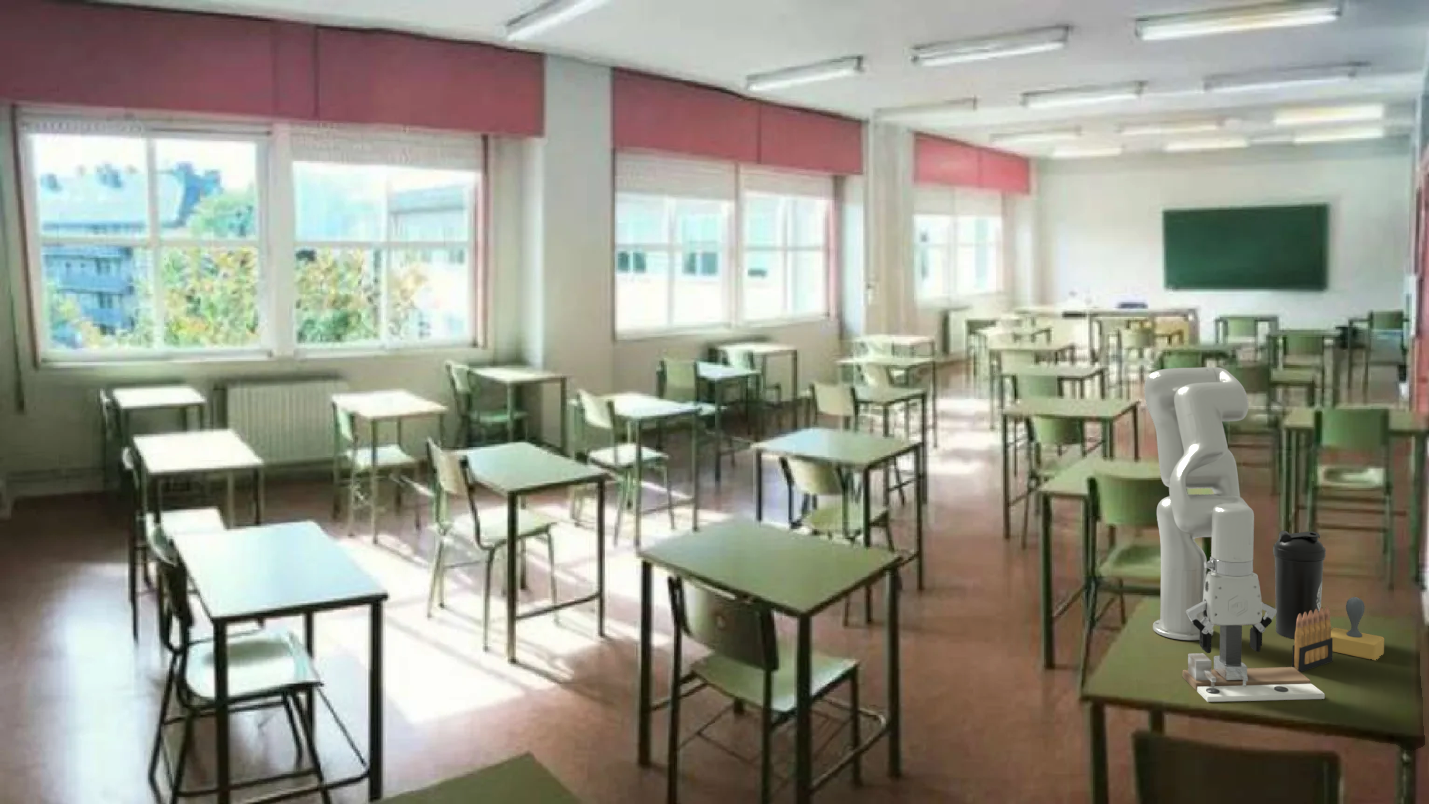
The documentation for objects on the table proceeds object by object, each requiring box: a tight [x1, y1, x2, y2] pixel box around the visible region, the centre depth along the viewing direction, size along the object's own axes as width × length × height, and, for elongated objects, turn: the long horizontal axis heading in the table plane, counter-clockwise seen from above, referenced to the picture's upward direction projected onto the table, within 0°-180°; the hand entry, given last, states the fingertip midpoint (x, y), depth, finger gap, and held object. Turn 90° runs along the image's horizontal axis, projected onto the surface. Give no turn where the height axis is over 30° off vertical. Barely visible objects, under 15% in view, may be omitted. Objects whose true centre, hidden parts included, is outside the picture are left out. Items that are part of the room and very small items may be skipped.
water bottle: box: [1272, 530, 1327, 640], centre depth 243 cm, size 10×10×23 cm
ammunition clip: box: [1291, 605, 1334, 673], centre depth 225 cm, size 11×2×12 cm, turn 117°
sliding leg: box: [1213, 625, 1248, 687], centre depth 216 cm, size 10×4×11 cm, turn 178°
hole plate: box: [1196, 683, 1326, 703], centre depth 212 cm, size 5×22×1 cm, turn 88°
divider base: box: [1182, 652, 1311, 692], centre depth 217 cm, size 10×22×6 cm, turn 88°
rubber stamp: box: [1331, 596, 1385, 661], centre depth 232 cm, size 10×6×12 cm, turn 43°
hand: (1230, 650), depth 218 cm, fingers open, 9 cm apart
